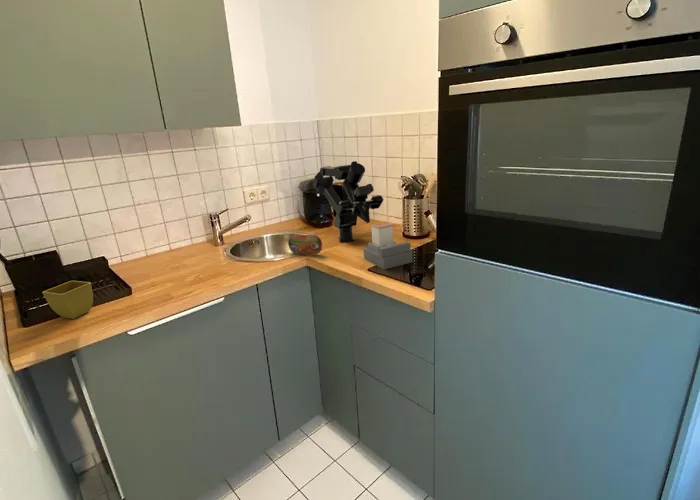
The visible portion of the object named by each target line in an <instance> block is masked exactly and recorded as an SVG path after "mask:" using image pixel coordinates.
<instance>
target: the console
mask: <svg viewBox="0 0 700 500" xmlns="http://www.w3.org/2000/svg"><path fill="white" fill-rule="evenodd" d="M367 245H368V247H364V248H363V259H364V260H365V261H367V262H370V263H371V264H373V265H375V266H377V267H378V268H380V269H382V270H388V269H391V268H394V267H395V268H396V267H399V266H403V265H406V264H407V265H408V264H410V263H413V251H412V249H411V242H409V241H403V242H401V243H400V242H399V243H398V242H397V241H394V240H393V244H390V245H387V246H386V247H382V248H380V247H379V246H377V245H375V244H373V243H372V242H368V243H367Z"/></svg>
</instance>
